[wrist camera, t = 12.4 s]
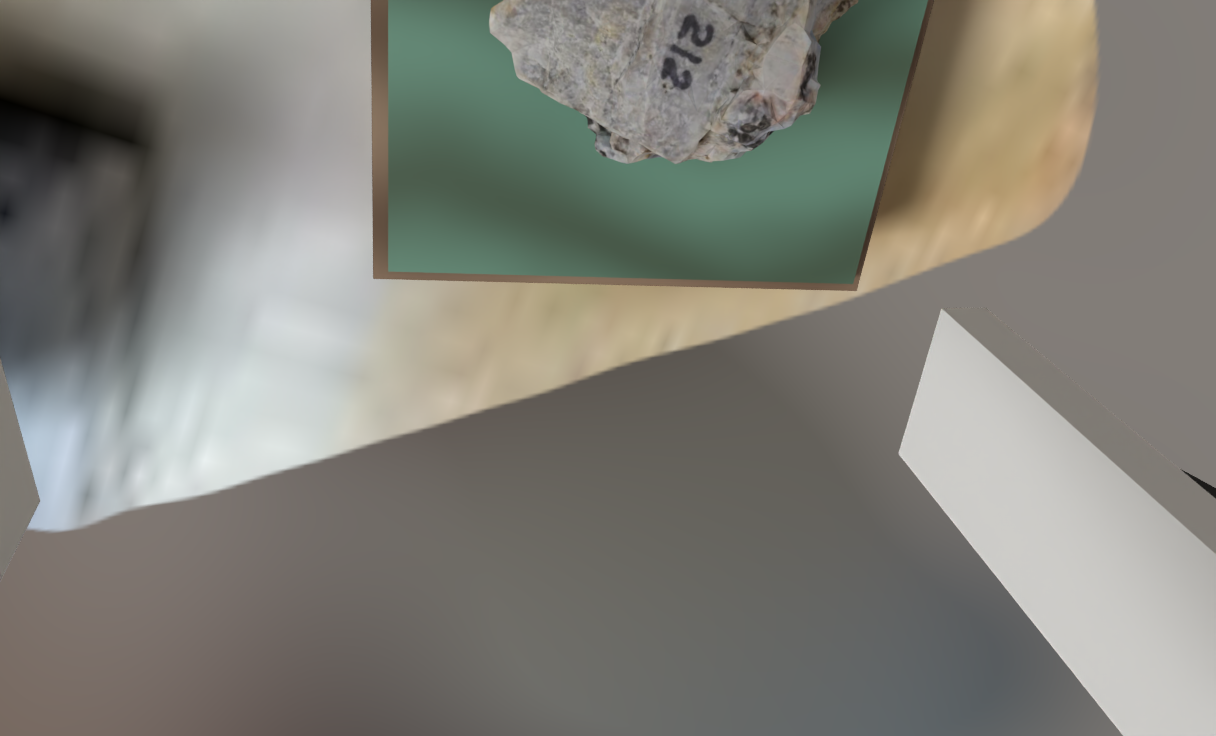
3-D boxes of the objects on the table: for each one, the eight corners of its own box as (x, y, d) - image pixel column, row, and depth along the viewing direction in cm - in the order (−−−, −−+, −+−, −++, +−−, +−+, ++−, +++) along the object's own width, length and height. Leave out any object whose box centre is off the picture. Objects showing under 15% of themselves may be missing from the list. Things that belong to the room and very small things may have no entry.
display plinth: (371, -357, 27) (366, -392, 23) (931, -260, 31) (1016, -274, 27) (375, 230, 35) (372, 284, 31) (812, 245, 39) (861, 296, 35)
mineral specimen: (678, 51, 34) (630, -257, 27) (898, 75, 31) (912, -272, 23) (549, 223, 29) (446, -95, 22) (792, 275, 26) (768, -83, 18)
